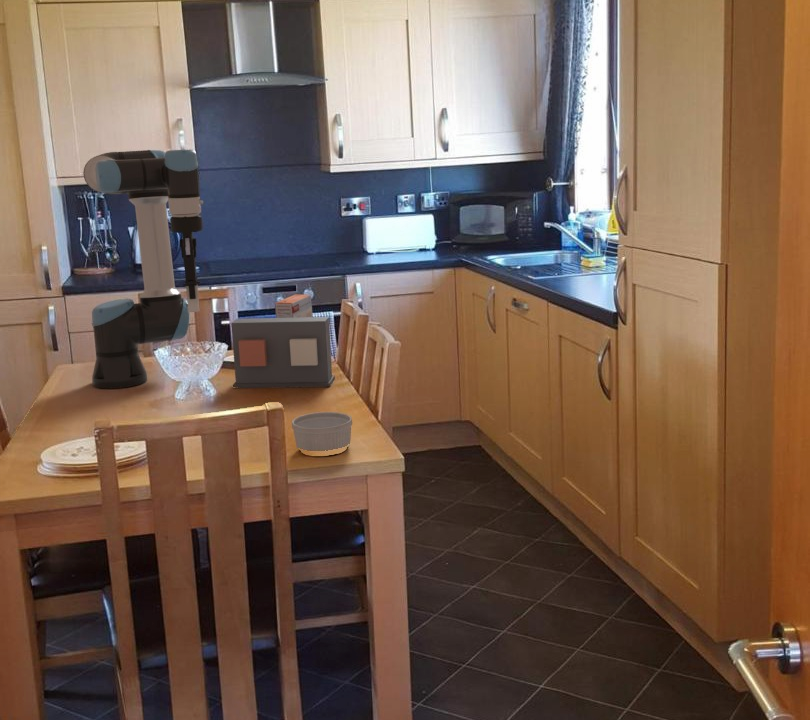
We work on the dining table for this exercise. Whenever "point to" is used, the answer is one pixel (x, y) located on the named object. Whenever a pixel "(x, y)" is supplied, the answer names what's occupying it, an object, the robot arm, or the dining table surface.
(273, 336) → the box
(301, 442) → the ramekin
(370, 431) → the dining table surface
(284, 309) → the cracker box
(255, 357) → the brick button
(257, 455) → the dining table surface
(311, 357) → the cream button
